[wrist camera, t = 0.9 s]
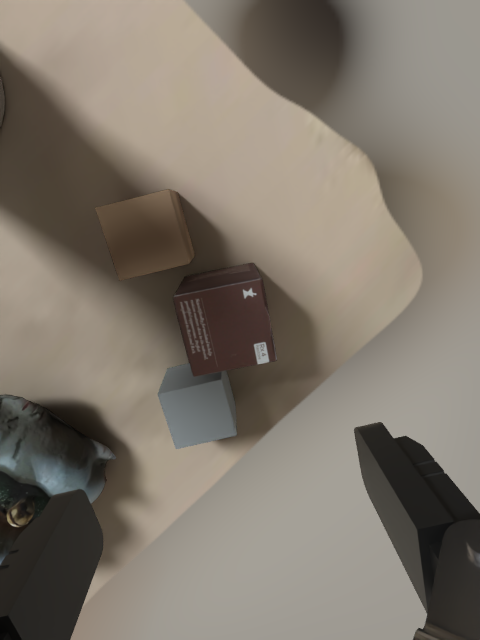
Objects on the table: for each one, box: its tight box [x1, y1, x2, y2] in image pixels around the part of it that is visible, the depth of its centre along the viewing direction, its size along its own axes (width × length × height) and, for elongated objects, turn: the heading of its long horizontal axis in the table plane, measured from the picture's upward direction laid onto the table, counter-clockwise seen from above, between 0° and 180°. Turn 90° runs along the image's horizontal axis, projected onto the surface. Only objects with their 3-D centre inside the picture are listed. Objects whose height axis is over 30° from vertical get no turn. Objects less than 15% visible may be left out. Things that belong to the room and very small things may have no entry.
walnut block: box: [95, 189, 195, 281], centre depth 28 cm, size 5×5×5 cm
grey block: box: [158, 363, 237, 449], centre depth 32 cm, size 5×5×5 cm
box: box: [173, 263, 277, 377], centre depth 28 cm, size 6×6×7 cm
